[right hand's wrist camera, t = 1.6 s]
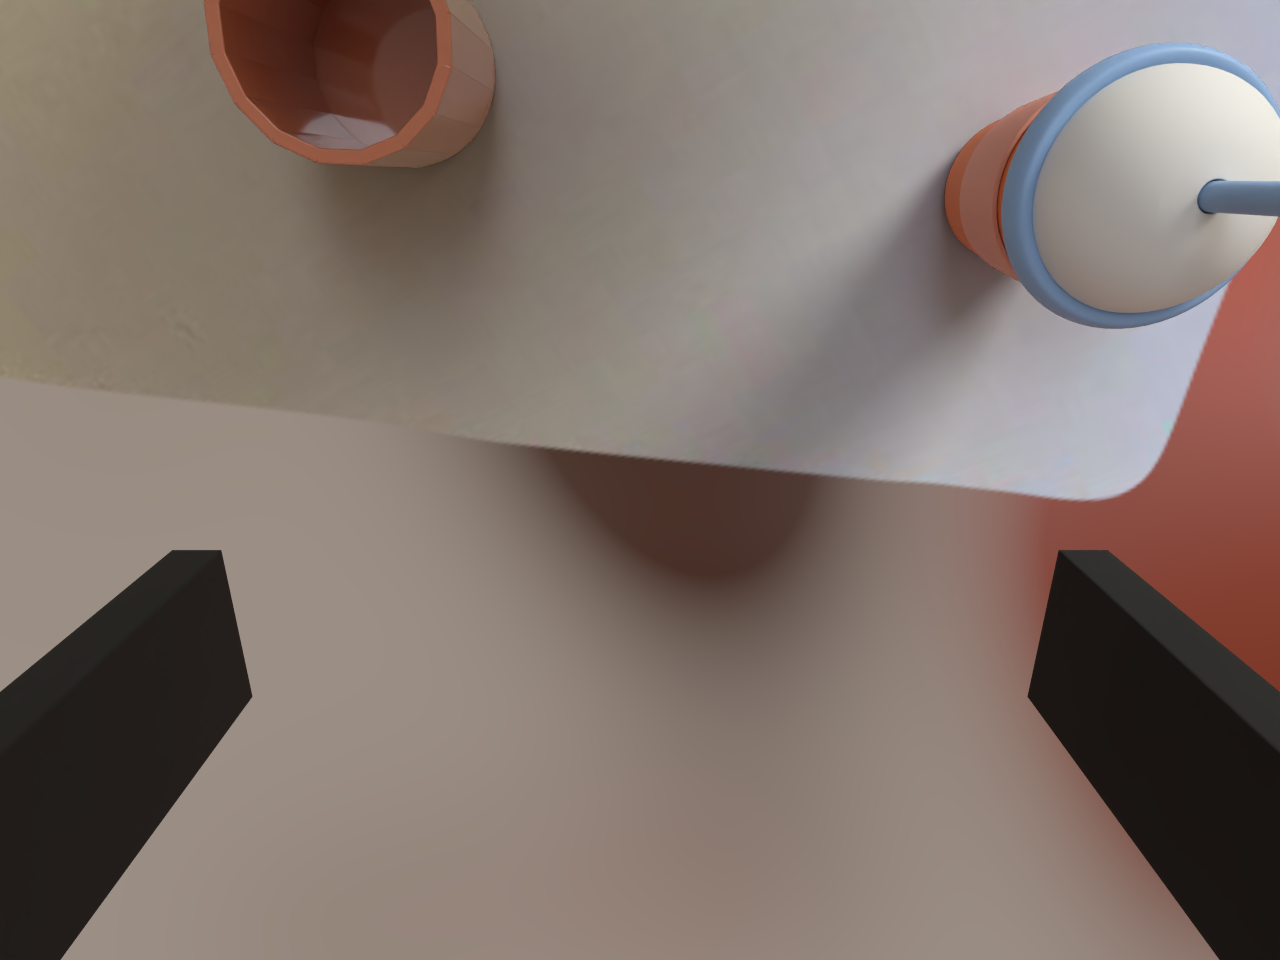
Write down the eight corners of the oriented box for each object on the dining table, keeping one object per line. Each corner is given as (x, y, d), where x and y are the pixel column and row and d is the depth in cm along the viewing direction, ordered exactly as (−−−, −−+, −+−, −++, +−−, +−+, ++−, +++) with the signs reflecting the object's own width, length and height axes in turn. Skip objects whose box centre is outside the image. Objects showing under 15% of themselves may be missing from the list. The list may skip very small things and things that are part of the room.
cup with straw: (921, 310, 38) (1144, 414, 22) (900, 106, 35) (1141, 43, 18) (1113, 266, 38) (1499, 339, 21) (1110, 55, 35) (1560, -59, 18)
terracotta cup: (300, -44, 33) (187, -119, 25) (493, -34, 33) (446, -105, 25) (319, 163, 36) (223, 159, 28) (497, 171, 36) (455, 169, 28)
